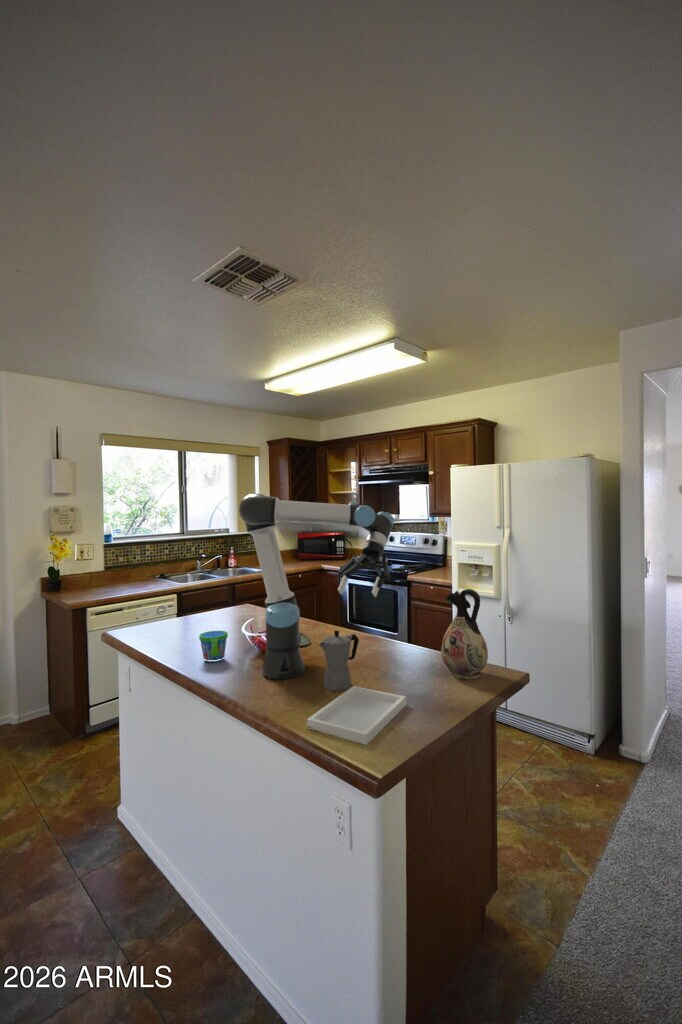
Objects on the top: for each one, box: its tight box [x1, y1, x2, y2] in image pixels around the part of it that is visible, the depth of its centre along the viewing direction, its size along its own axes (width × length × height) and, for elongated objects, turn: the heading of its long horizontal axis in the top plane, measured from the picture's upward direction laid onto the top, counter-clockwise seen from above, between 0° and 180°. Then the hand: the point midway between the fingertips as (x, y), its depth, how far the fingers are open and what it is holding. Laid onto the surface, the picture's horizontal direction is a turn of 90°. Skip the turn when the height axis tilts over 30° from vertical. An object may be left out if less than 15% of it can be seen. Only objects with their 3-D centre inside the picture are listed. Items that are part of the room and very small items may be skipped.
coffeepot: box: [318, 630, 360, 692], centre depth 149 cm, size 15×9×18 cm, turn 126°
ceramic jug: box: [440, 588, 489, 680], centre depth 155 cm, size 17×15×30 cm
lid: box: [299, 632, 311, 648], centre depth 195 cm, size 11×10×5 cm
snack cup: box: [198, 630, 228, 660], centre depth 177 cm, size 16×10×10 cm
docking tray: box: [306, 685, 407, 746], centre depth 126 cm, size 17×25×2 cm
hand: (356, 593), depth 160 cm, fingers open, 13 cm apart
